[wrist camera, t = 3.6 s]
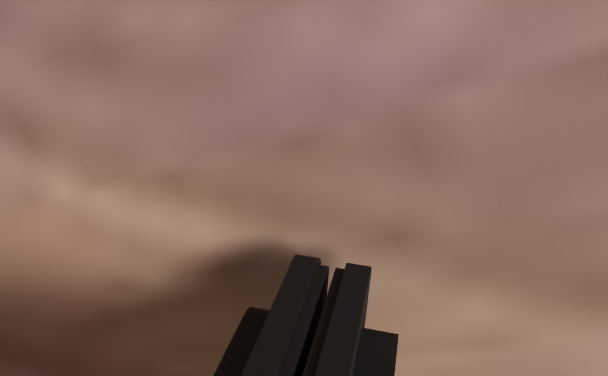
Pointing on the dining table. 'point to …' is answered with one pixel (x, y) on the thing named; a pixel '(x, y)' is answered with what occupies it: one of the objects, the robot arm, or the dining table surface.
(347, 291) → the robot arm
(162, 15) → the dining table surface
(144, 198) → the dining table surface
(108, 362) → the dining table surface
